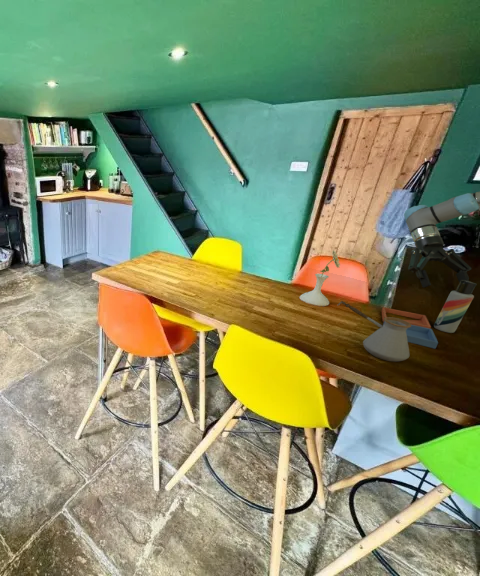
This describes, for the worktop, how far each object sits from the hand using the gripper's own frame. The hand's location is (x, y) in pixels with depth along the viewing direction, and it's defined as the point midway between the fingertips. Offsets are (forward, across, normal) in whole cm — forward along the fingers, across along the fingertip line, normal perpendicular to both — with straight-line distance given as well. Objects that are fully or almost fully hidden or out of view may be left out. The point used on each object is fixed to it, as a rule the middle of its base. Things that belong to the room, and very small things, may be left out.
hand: (446, 287), depth 115 cm
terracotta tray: (+11, +10, -11) cm, 19 cm away
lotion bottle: (+15, 0, -7) cm, 17 cm away
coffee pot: (+28, +40, +6) cm, 49 cm away
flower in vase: (0, +36, -22) cm, 42 cm away
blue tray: (+20, +18, -2) cm, 26 cm away
